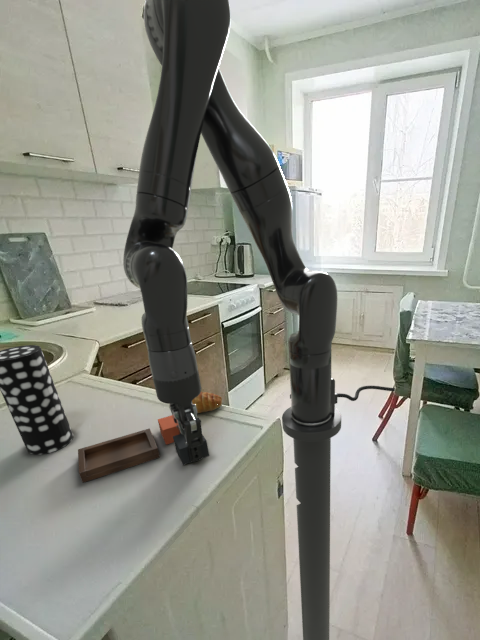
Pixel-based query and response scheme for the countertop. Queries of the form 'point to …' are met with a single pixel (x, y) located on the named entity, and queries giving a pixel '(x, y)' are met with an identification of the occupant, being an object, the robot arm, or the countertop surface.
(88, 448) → the brown wooden tray
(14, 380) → the white-spotted black cylinder
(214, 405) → the pastry
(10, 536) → the countertop surface
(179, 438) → the charcoal block
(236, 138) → the robot arm
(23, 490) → the countertop surface
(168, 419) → the orange polygonal prism
